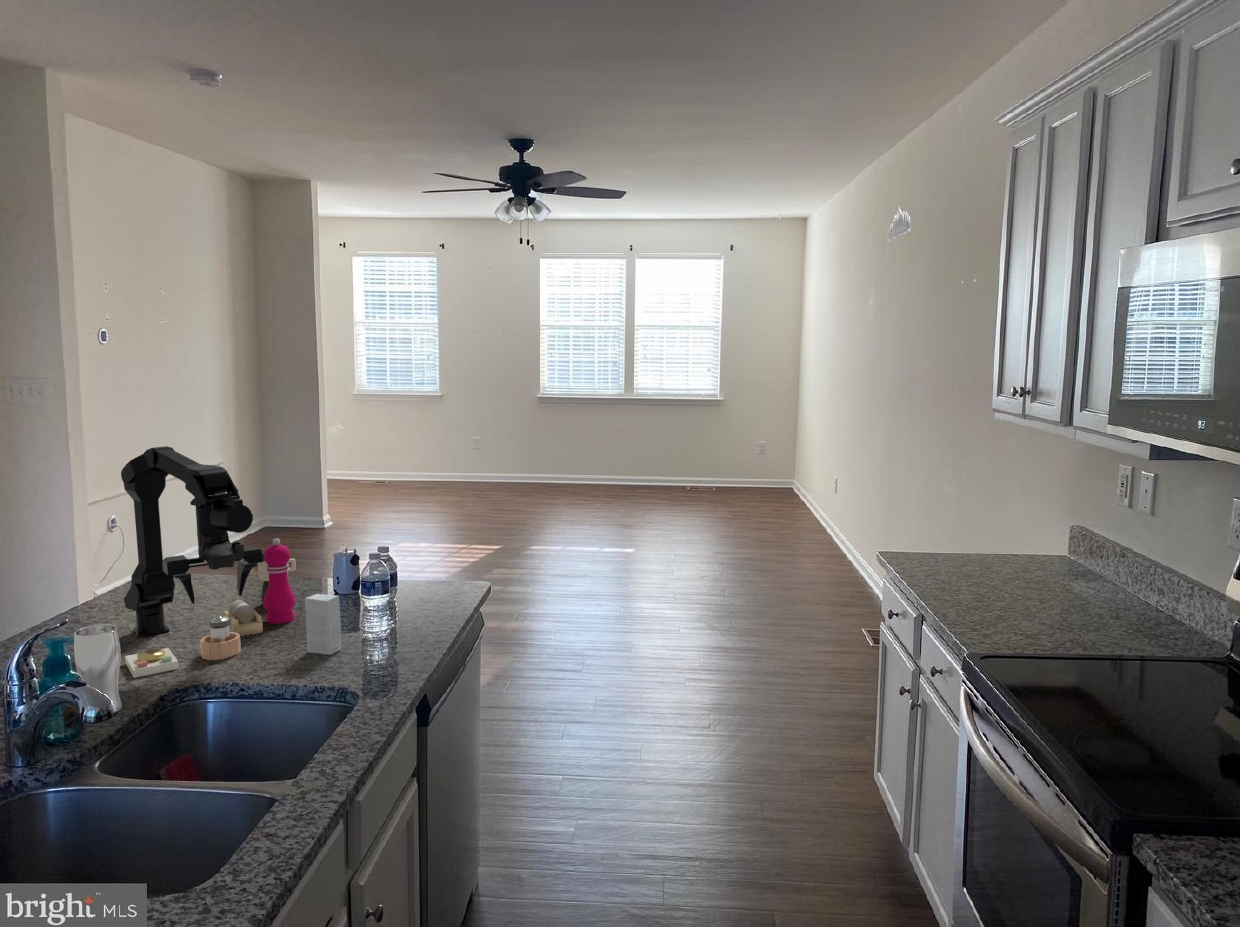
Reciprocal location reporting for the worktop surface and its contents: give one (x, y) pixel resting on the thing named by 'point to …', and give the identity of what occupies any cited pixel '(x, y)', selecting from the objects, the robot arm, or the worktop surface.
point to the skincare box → (323, 624)
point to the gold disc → (151, 655)
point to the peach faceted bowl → (220, 647)
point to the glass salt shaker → (219, 629)
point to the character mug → (265, 576)
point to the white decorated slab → (151, 664)
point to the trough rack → (243, 619)
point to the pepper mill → (278, 585)
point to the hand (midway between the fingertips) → (216, 599)
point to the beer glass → (99, 659)
